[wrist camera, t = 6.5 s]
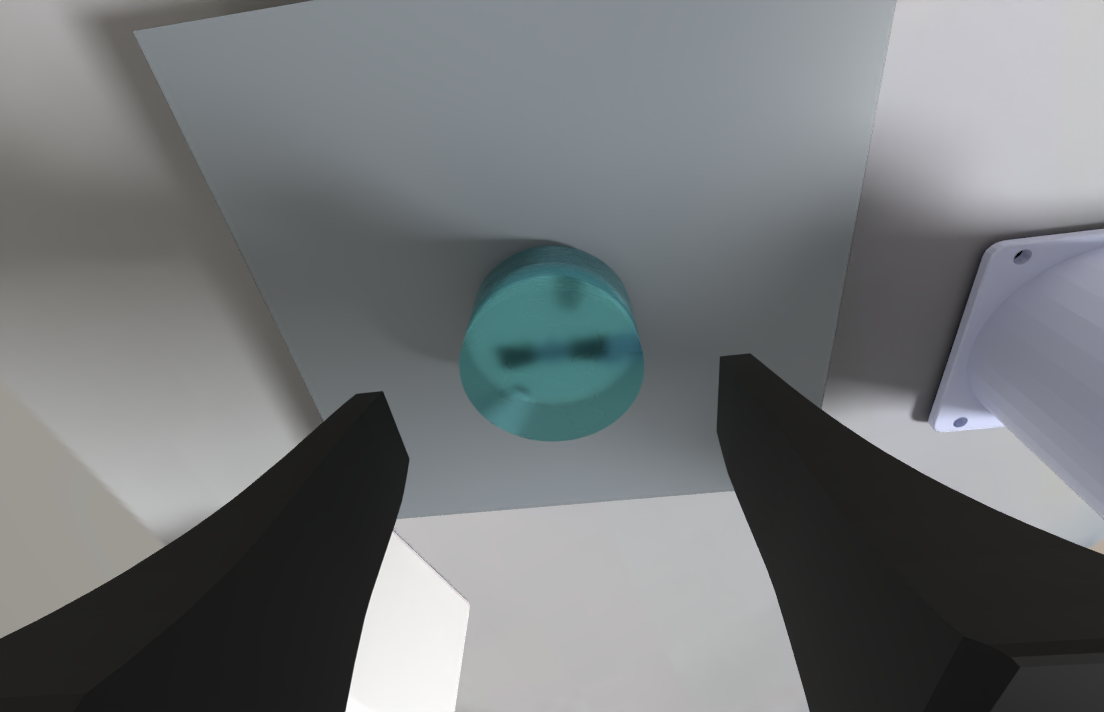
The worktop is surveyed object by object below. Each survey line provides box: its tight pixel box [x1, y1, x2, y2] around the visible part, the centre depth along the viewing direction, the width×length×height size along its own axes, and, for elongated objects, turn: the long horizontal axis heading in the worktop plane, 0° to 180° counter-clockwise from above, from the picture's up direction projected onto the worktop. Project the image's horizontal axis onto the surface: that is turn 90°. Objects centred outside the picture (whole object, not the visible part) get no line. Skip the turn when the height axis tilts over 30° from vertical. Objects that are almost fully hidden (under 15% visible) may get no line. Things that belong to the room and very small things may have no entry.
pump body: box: [133, 0, 896, 519], centre depth 17 cm, size 16×16×4 cm
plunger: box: [459, 246, 644, 442], centre depth 15 cm, size 4×4×6 cm
